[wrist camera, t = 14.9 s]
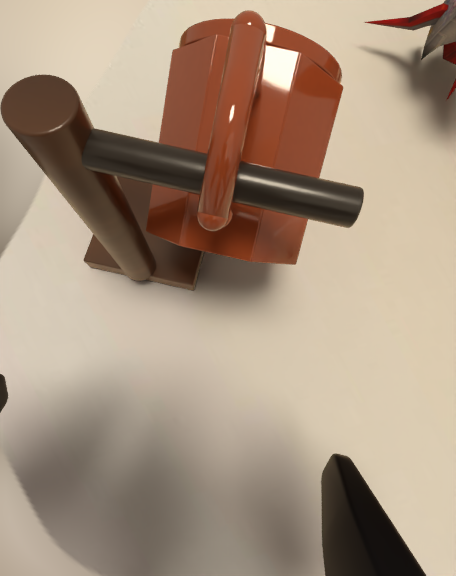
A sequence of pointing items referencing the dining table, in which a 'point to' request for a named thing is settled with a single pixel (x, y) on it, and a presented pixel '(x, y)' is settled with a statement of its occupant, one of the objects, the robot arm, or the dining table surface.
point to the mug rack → (145, 182)
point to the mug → (243, 132)
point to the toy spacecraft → (433, 29)
